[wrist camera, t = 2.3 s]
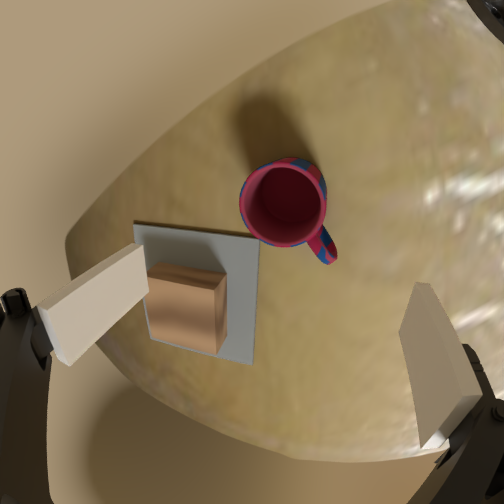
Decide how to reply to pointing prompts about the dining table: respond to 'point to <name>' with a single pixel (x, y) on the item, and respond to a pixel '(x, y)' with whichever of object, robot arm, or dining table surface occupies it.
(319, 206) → the mug
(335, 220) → the dining table surface
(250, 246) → the mat
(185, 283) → the base block
